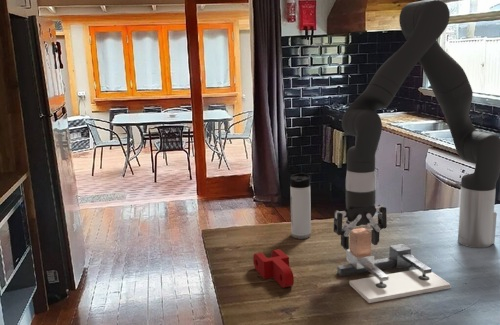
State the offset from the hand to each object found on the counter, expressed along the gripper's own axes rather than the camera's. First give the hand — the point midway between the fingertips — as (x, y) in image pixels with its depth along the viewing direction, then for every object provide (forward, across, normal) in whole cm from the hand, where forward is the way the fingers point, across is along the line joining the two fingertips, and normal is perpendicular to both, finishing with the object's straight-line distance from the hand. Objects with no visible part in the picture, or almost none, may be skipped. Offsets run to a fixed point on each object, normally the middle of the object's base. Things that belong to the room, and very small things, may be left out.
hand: (360, 246), depth 130 cm
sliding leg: (+6, 0, +5) cm, 7 cm away
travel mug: (+7, +5, -30) cm, 31 cm away
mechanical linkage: (+7, +22, -5) cm, 23 cm away
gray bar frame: (+7, -5, +5) cm, 10 cm away
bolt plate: (+7, -5, +11) cm, 14 cm away
